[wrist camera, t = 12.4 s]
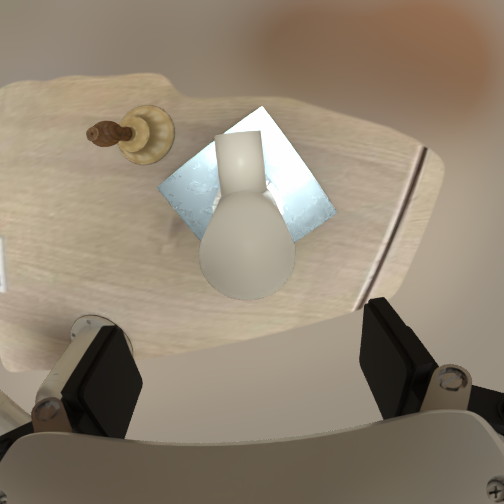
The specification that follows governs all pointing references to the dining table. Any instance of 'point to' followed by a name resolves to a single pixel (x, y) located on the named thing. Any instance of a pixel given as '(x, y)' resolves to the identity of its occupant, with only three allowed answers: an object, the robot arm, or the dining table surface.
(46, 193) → the dining table surface
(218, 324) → the dining table surface
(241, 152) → the white tall branched piece
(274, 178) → the vent box
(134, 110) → the hand bell
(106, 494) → the robot arm
